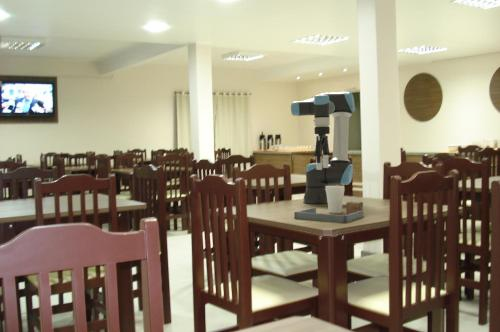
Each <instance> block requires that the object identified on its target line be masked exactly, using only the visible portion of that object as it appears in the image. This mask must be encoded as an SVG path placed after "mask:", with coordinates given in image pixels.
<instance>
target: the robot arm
mask: <svg viewBox="0 0 500 332" xmlns="http://www.w3.org/2000/svg"><path fill="white" fill-rule="evenodd" d="M355 111H356V104H355V97H354V95H353V92H351V91H336V92H334V91H333V92H323V93H319V94H316V95H314V96H311V97H310V98H309V99H305V100H301V101H300V100H299V101H298V100H297V101H296V100H295V101H292V103H291V104H290V112H291V115H292V116H294V117H301V116H302V117H303V116H314V119H313V123H314V126H315V127H314V134H315V135H316V137H315V139H316V140H315V141H316V142H315V149H314V151H315V152H314V155H313V156H314V157H315V159H316V160H315V161H316V162H312V163H308V164H307V165H306V166H305V186H306V187H305V192H304V195H303V203H304V204H311V205H315V204H316V205H317V204H320V205H322V204H328V202H327V195H326V186H327V185H330V186H345V185H346V186H347V185H350V183H352V180H353V175H354V166H353V165H354V164H352V163H351V161H350V159H349V133H350V132H349V128H350V117H352V115H353V113H354V112H355ZM330 115H331V116H332V117H333V134H332V135H333V136H332V137H333V140H332V143H333V144H332V158H331V159H330V160H329V155H331V153H330V148H329V140H328V139H329V138H328V137H329V136H328V135H329V134H331V133H330V123H331V122H330ZM322 153H323V154H322Z"/></svg>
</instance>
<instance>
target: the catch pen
mask: <svg viewBox="0 0 500 332" xmlns="http://www.w3.org/2000/svg"><path fill="white" fill-rule="evenodd" d="M293 215H294V216H293V217H294V219H297V220H298V219H299V220H309V221H320V222H321V221H323V222H334V223H344V224H346V223H349V222H352V221H355V220H359V219H362V218H364V210H363V211H358V212H354V213H351V214H348V215H346V214H345V215H343V214H342V215H341V214H331V213H330V214H329V213H327V214H326V213H317V207H315V206H313V207H310V208H305V209H301V210H298V211H294V214H293Z"/></svg>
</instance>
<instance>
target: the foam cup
mask: <svg viewBox="0 0 500 332" xmlns="http://www.w3.org/2000/svg"><path fill="white" fill-rule="evenodd" d="M344 194H345V185H326V195H327V202H328V203H327V207H328V213H330V214H331V213H333V214H339V213H342V212H343V204H344V203H343V202H344Z"/></svg>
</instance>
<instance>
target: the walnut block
mask: <svg viewBox="0 0 500 332" xmlns="http://www.w3.org/2000/svg"><path fill="white" fill-rule="evenodd" d="M345 207H346V208H345V210H346V211H345V213H346V214H345V215H348V214H351V213H354V212H358V211H363V212H364V202H363V201H348V202H347V201H346V205H345Z"/></svg>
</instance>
